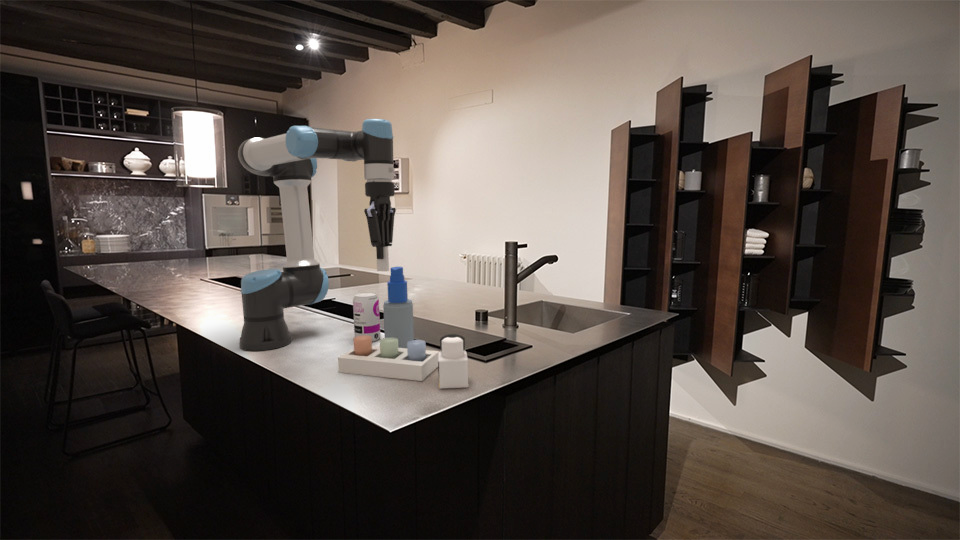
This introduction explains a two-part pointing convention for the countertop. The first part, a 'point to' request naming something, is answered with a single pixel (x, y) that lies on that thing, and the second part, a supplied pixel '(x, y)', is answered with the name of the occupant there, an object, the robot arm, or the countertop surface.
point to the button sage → (389, 348)
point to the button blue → (416, 350)
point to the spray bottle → (398, 310)
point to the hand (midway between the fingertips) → (383, 270)
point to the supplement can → (366, 315)
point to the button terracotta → (362, 345)
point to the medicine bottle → (452, 362)
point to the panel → (388, 365)
